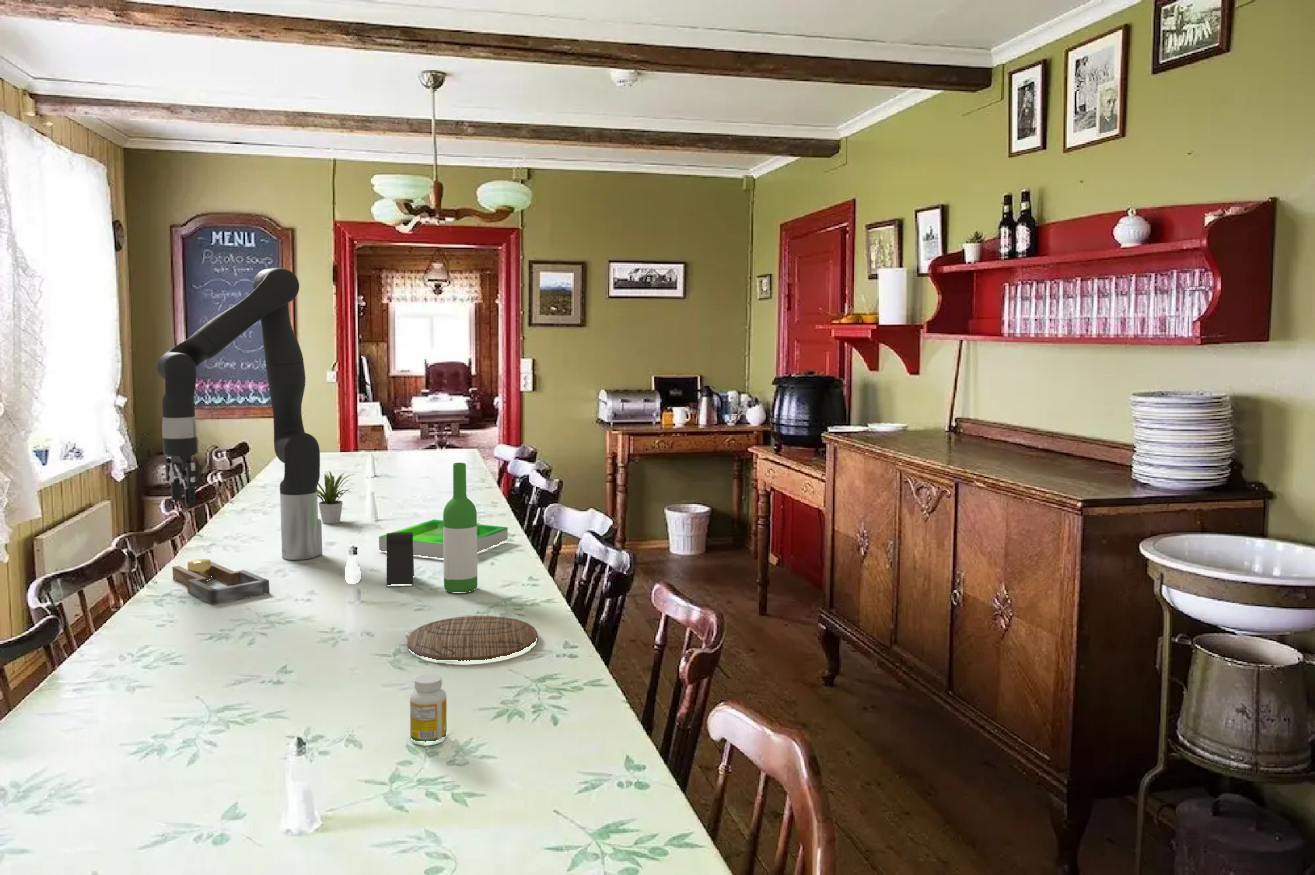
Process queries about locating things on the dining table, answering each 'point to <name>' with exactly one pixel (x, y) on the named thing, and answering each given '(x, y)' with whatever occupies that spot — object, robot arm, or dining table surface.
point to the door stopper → (400, 558)
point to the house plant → (331, 499)
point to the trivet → (471, 638)
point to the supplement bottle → (428, 709)
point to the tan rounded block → (201, 567)
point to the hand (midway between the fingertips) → (183, 501)
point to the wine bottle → (460, 537)
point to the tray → (431, 538)
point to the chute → (239, 580)
